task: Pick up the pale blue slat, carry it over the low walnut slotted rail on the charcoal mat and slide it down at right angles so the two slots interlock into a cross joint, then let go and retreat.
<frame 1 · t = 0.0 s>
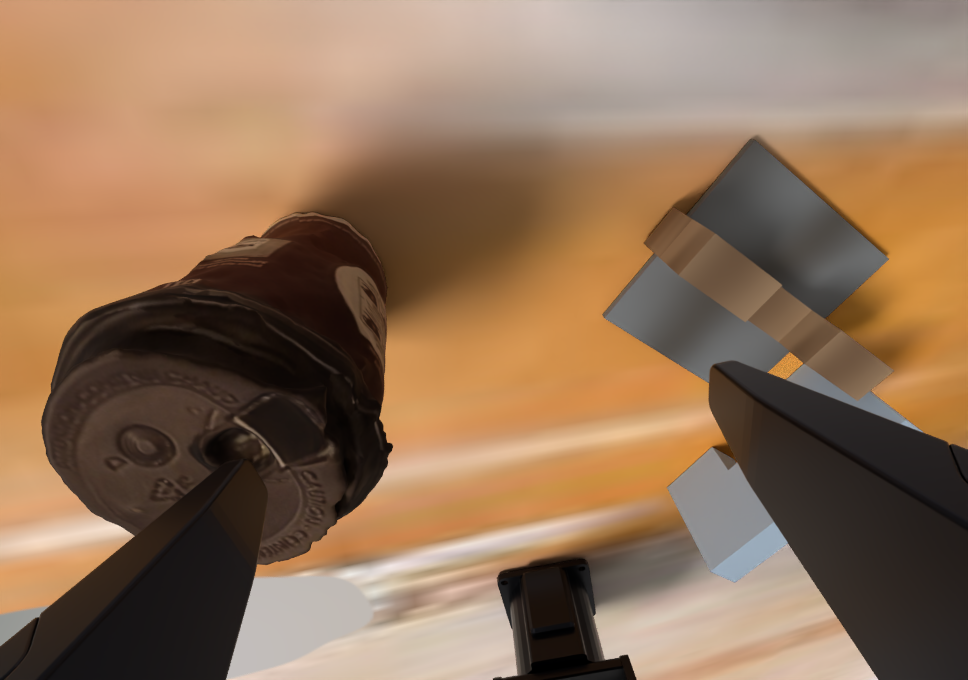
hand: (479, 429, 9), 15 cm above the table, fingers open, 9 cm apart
pale blue slat: (747, 431, 30), on the table
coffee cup: (325, 277, 23), on the table
slotted base: (740, 285, 25), on the table
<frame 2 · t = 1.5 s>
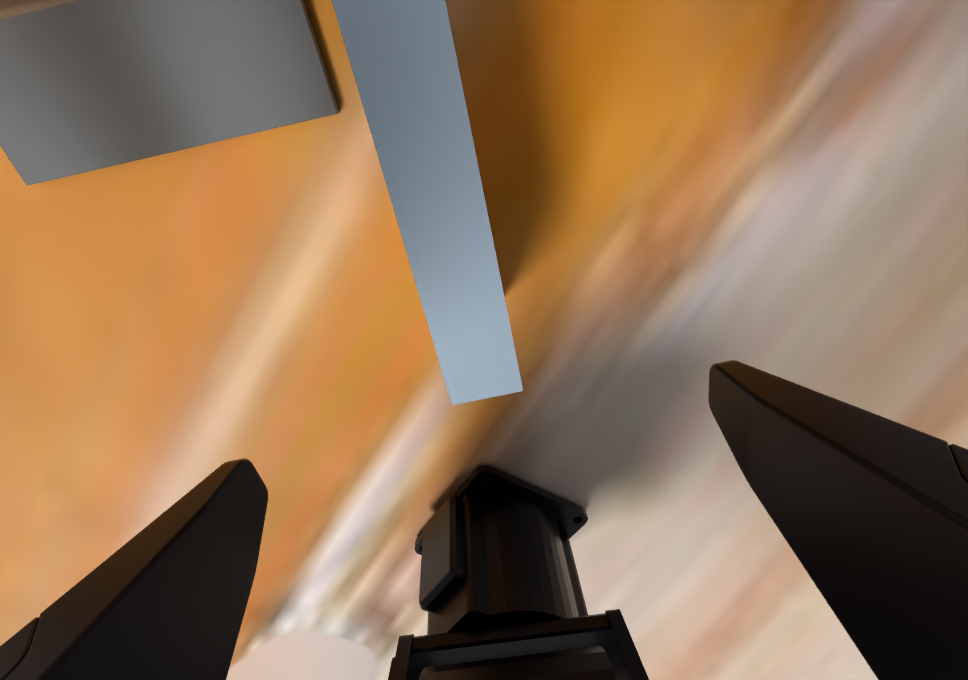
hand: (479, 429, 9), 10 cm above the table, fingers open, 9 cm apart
pale blue slat: (438, 138, 16), on the table
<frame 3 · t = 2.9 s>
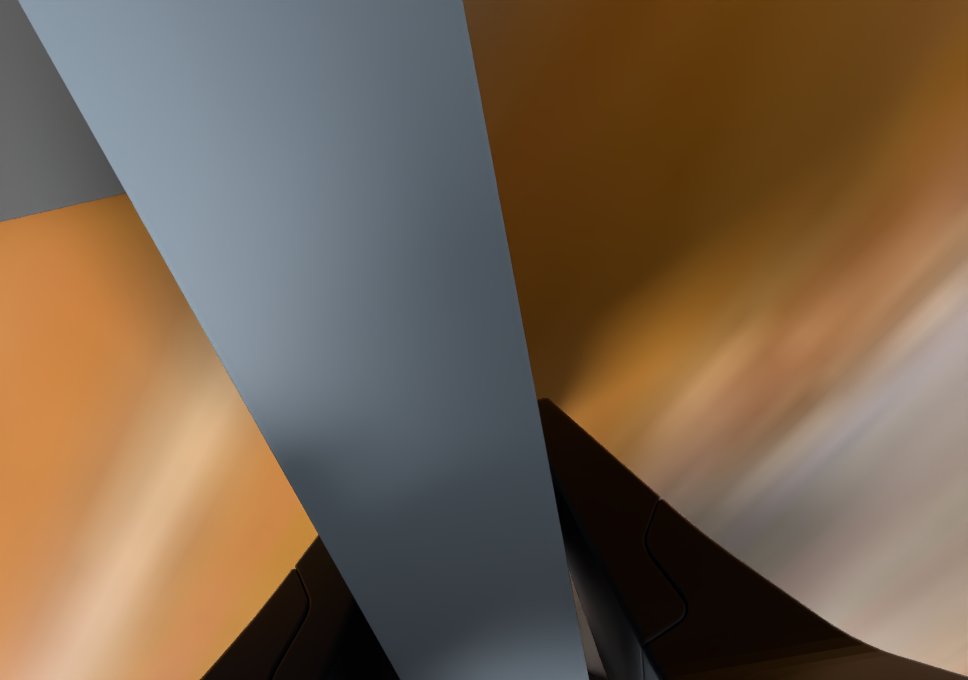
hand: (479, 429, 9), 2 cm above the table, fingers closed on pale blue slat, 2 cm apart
pale blue slat: (429, 206, 9), on the table, touching gripper
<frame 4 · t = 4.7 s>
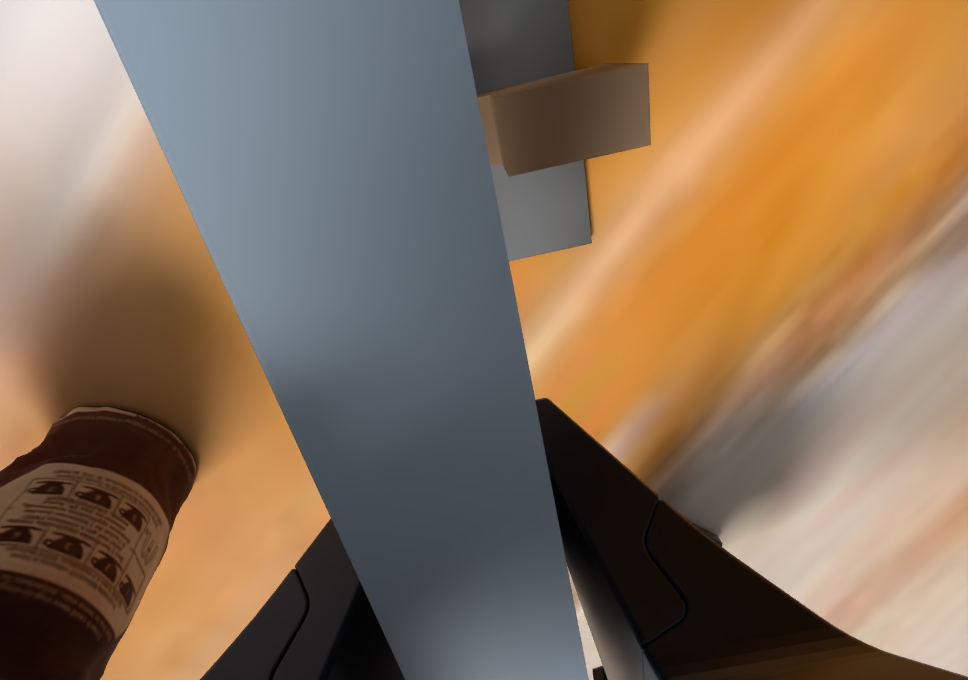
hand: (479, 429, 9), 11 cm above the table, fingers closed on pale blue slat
pale blue slat: (431, 208, 9), point 9 cm above the table, touching gripper
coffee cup: (131, 451, 23), on the table
slotted base: (434, 135, 17), on the table
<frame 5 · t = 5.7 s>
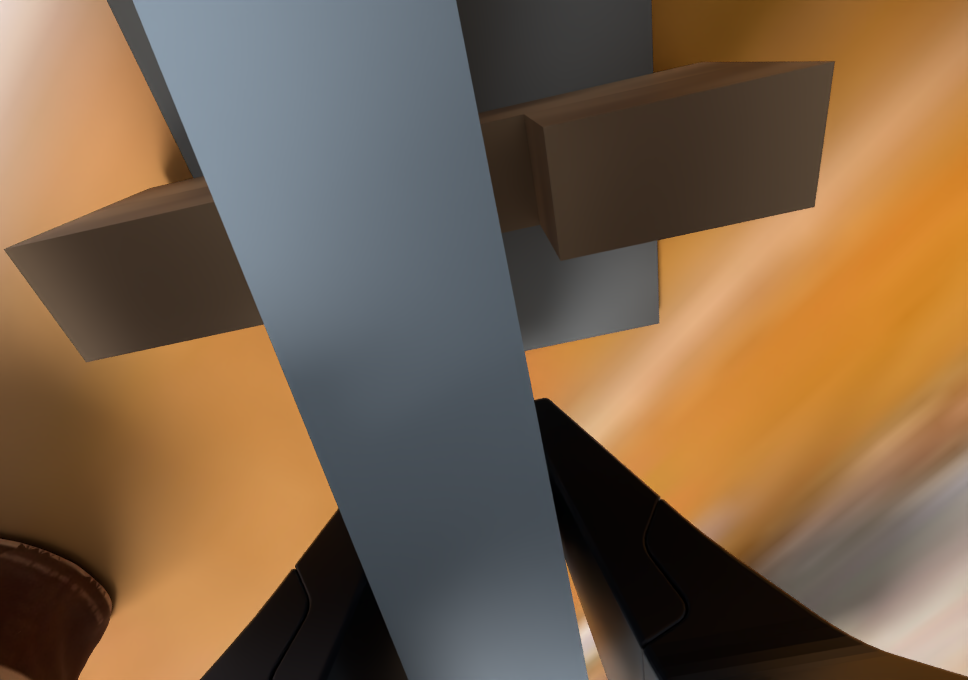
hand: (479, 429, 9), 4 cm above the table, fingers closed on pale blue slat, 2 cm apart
pale blue slat: (433, 211, 9), point 2 cm above the table, tilted 8°, touching gripper
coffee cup: (23, 581, 17), on the table
slotted base: (430, 171, 11), on the table
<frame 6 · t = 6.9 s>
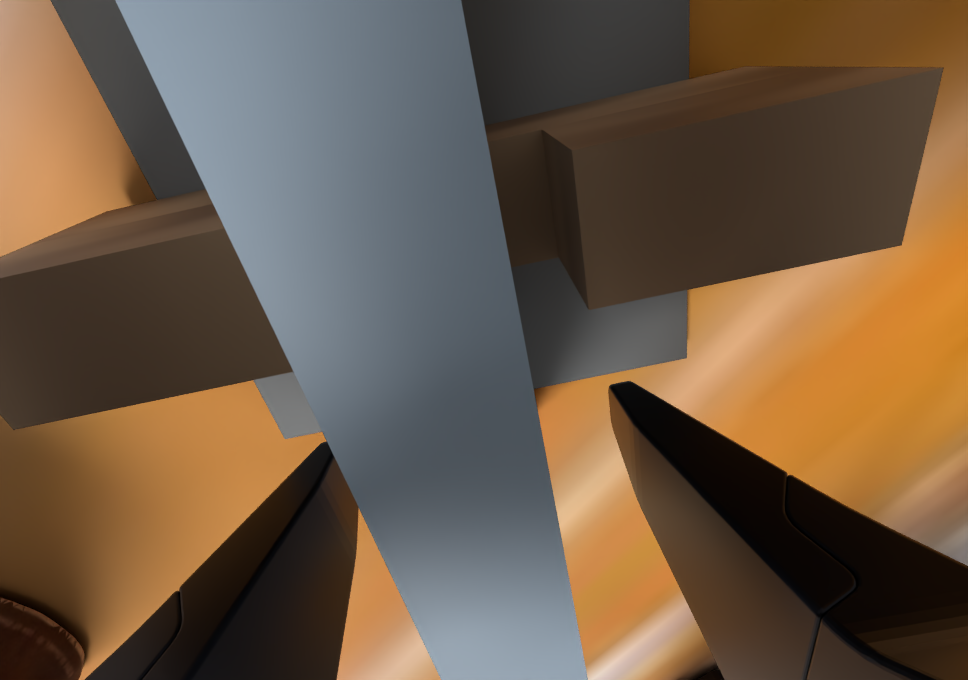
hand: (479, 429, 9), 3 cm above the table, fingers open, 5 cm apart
pale blue slat: (434, 207, 10), resting on slotted base
slotted base: (430, 190, 10), on the table
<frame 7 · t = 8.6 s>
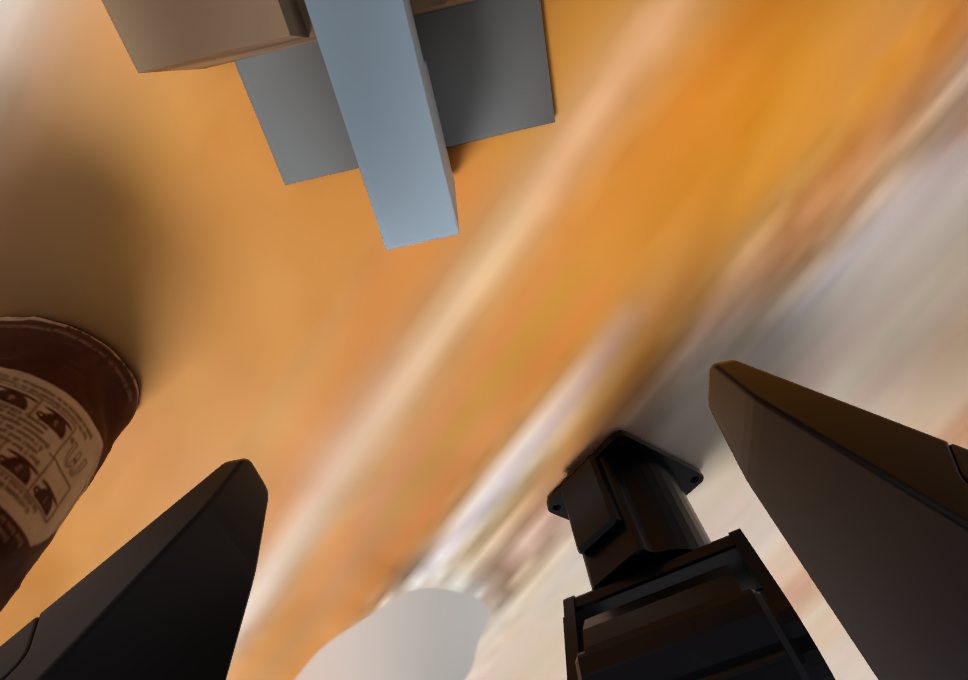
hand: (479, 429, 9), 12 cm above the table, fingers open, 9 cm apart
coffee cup: (67, 371, 22), on the table
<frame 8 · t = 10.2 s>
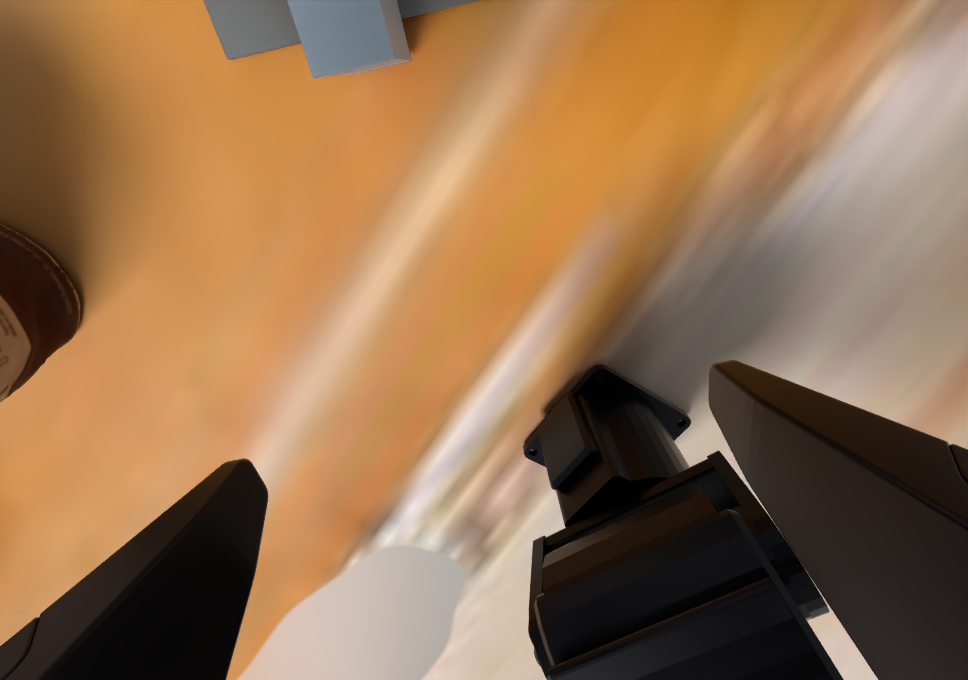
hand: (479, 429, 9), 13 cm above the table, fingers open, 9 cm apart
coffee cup: (4, 281, 20), on the table
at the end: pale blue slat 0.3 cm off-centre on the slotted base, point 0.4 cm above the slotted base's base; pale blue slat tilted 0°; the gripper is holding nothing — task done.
